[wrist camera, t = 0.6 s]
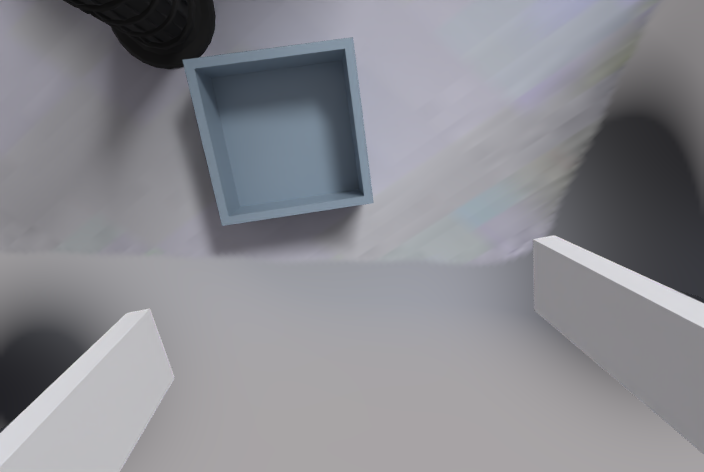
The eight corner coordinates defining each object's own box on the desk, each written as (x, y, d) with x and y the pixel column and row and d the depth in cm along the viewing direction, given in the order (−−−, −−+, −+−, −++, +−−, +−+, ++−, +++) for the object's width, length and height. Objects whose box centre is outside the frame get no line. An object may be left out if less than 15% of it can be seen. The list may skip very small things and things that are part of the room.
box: (204, 72, 37) (182, 59, 31) (347, 53, 37) (352, 37, 32) (236, 213, 41) (222, 226, 35) (366, 194, 41) (373, 202, 36)
